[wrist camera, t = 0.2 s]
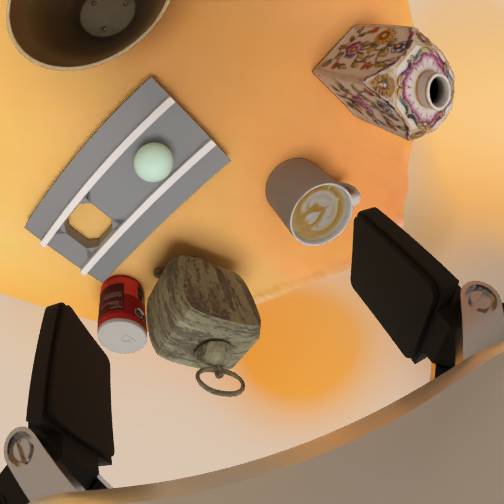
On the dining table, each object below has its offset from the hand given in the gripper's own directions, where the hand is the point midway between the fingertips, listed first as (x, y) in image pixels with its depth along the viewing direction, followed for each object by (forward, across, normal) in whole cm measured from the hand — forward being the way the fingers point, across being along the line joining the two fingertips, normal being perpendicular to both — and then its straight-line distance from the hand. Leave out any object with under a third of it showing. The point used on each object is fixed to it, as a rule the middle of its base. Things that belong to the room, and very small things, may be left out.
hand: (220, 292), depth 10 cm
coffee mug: (+37, -18, +17) cm, 45 cm away
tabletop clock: (+37, +3, +27) cm, 46 cm away
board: (+36, +9, +9) cm, 39 cm away
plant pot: (+36, +4, -16) cm, 40 cm away
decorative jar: (+36, -29, -1) cm, 47 cm away
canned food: (+37, +16, +27) cm, 49 cm away
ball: (+31, +3, +5) cm, 32 cm away
